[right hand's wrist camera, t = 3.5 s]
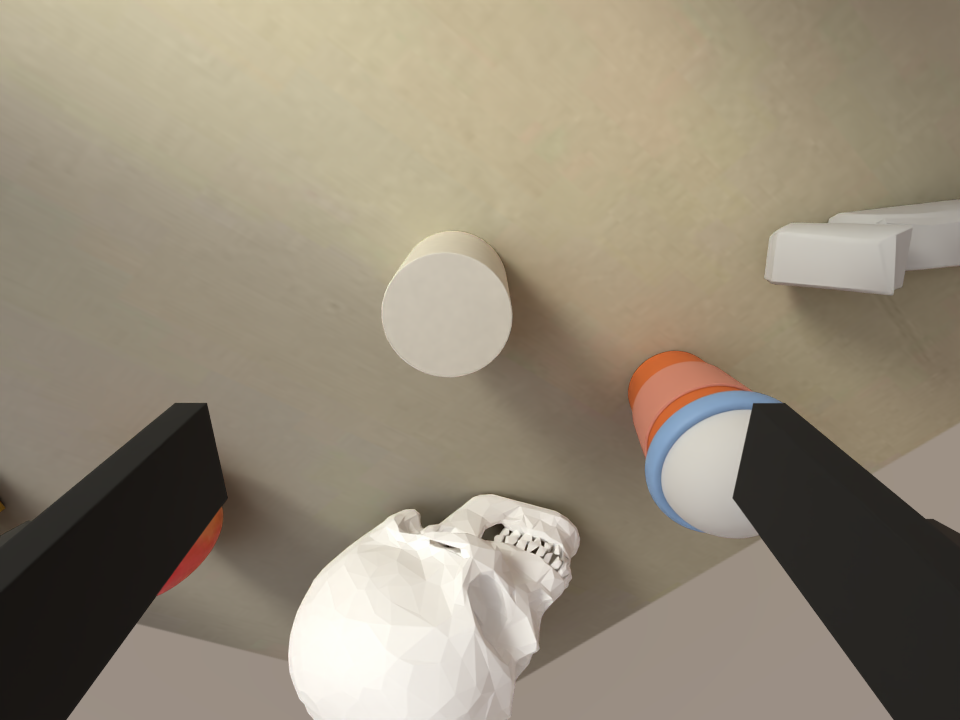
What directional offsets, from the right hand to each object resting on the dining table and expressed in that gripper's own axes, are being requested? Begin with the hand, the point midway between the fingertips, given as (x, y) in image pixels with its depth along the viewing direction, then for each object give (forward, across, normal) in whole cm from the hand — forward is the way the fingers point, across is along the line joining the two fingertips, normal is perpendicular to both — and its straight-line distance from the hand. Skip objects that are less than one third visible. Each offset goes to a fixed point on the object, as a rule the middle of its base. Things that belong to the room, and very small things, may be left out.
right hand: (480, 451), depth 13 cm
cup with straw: (+24, +14, -10) cm, 30 cm away
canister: (+24, -2, -2) cm, 24 cm away
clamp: (+24, +28, +2) cm, 37 cm away
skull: (+25, -3, -25) cm, 35 cm away
